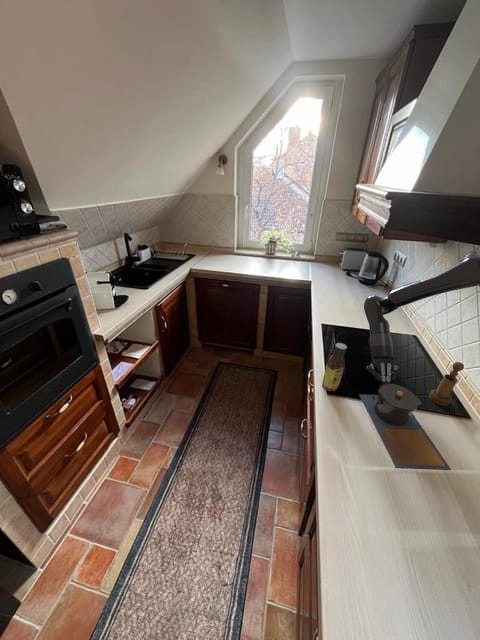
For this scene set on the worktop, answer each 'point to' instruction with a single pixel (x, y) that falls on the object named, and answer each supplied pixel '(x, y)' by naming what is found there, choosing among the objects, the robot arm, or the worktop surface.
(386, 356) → the robot arm
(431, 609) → the worktop surface
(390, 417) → the pot
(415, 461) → the mat
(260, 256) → the worktop surface
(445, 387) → the wooden pepper mill
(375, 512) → the worktop surface
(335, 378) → the sauce bottle
